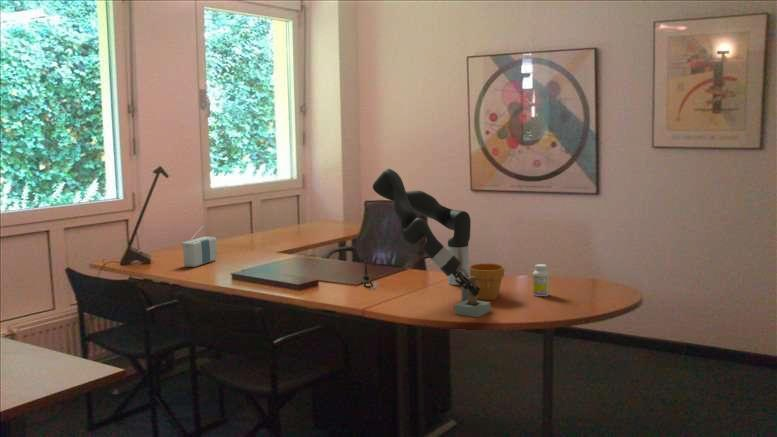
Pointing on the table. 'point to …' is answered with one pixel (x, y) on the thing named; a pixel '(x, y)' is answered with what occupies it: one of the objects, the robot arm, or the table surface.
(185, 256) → the stereo radio cassette player
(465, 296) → the short grey peg
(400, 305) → the table surface
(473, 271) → the flower pot
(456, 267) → the robot arm
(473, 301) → the walnut peg
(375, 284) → the eiffel tower figurine
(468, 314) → the hole block
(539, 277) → the supplement bottle
